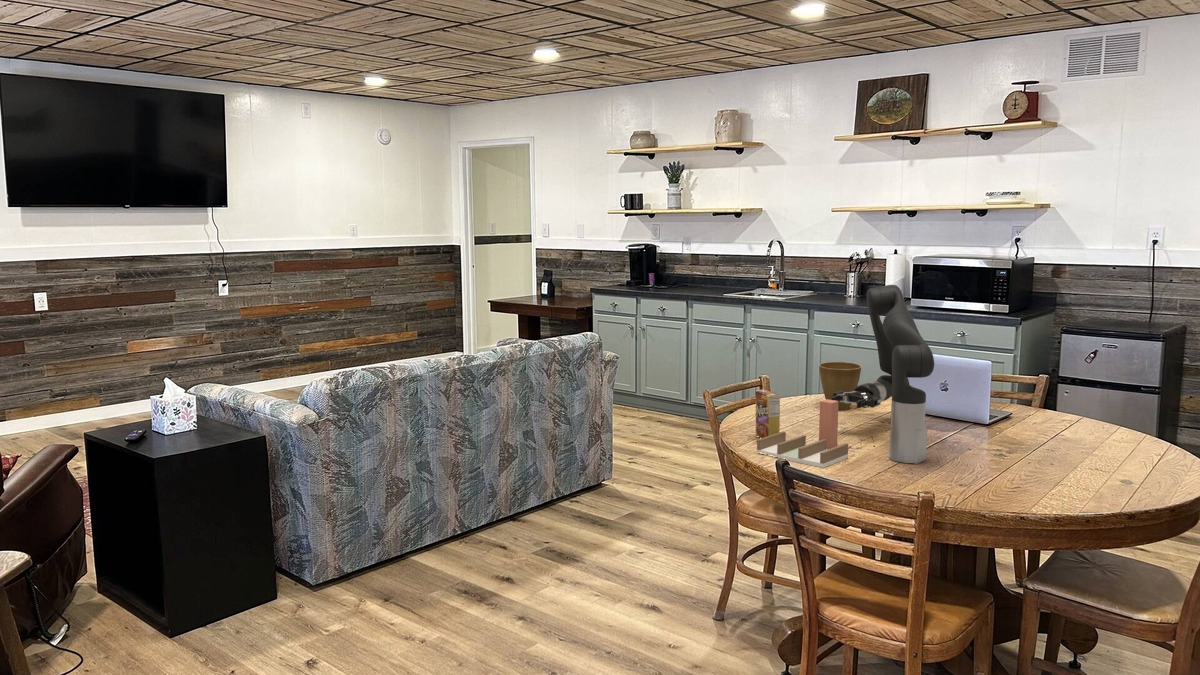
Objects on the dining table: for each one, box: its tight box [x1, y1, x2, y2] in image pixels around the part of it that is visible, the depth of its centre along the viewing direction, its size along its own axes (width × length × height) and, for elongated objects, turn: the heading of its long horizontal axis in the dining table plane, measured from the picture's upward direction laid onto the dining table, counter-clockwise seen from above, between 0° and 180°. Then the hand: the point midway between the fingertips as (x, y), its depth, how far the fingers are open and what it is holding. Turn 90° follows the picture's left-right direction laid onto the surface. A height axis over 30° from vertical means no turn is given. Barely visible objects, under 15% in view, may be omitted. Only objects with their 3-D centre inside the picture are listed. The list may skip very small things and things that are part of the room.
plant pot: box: [818, 361, 862, 411], centre depth 319 cm, size 15×15×16 cm
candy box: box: [755, 388, 781, 439], centre depth 275 cm, size 9×4×15 cm, turn 17°
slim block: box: [818, 399, 839, 449], centre depth 267 cm, size 4×4×14 cm
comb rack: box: [756, 430, 849, 469], centre depth 257 cm, size 22×14×4 cm, turn 46°
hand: (845, 402), depth 274 cm, fingers open, 8 cm apart
